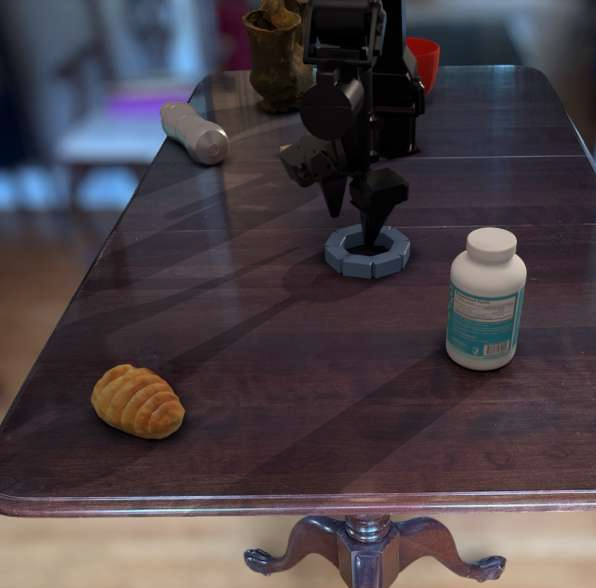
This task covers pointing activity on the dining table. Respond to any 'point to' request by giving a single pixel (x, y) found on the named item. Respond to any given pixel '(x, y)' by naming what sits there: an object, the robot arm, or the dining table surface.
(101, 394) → the pastry
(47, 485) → the dining table surface
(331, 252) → the ring
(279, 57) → the pottery vessel
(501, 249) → the pill bottle
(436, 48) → the ceramic cup
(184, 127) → the plastic bottle
